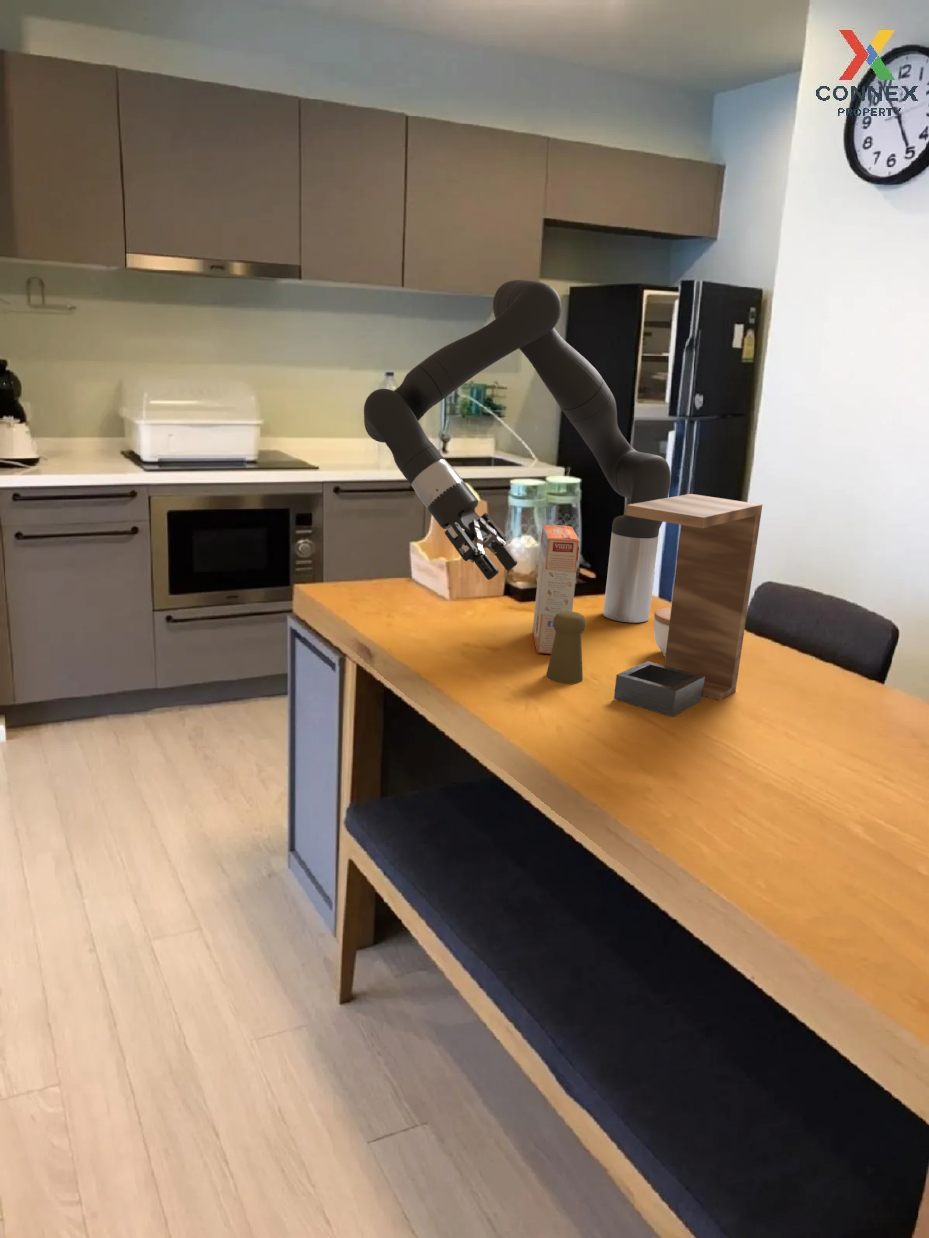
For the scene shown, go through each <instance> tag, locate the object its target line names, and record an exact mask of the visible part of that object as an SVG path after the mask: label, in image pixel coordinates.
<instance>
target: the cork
mask: <svg viewBox="0 0 929 1238" xmlns="http://www.w3.org/2000/svg"><path fill="white" fill-rule="evenodd" d="M586 624H587V623H586V618H585V616H584V615H583V614H582V613H579V612H575V611H573V610H572V611H562V612H559V613H557V614H556V616H555V617H554V620H553V625H554V629H555V631H556V634H555V638H554V642H553V647H552V651H551V654H550V657H549V660H548V664H547V665H548V666H547V670H546V674H545V677H546V678H547V679H548V680H549V681H552V682H554V683H555V682H556V683H559V684H569V685H571V684H578V683H581V682H582V681H583V680H584V678H583V676H584V675H583V654H582V653H583V651H582V649H583V648H582V647H583V646H582V633H584V632H585V629H586Z"/></svg>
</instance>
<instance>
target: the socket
mask: <svg viewBox="0 0 929 1238" xmlns="http://www.w3.org/2000/svg"><path fill="white" fill-rule="evenodd" d="M704 679H705V676H701V675H697V674H694V673H690V672H686V671H682V670H679V669H675V668H671V667H667V666H664V664H659V663H655V662H651V661H648V660H647V661H644V662H643V663H640V664H638V665H636V666H634V667H631V668H629V669H627V670H624V671H622V672H619V673H617V674H616V676H615V687H614V696H613V699H614V700H615V701H619V702H623V703H625V704H629V705H632V706H636V707H639V708H642V709H645V710H649V711H652V712H656V713H659V714H662V715H666V716H669V717H675V716H676V715H678V714H680V713H682V712H684V711H685V710H687V709H689V708H692V707H693V706H695V705H696V704H698V703H699V702H702V701H703V700H702V699H703V695H702V694H703V686H704Z"/></svg>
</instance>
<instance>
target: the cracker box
mask: <svg viewBox="0 0 929 1238" xmlns="http://www.w3.org/2000/svg"><path fill="white" fill-rule="evenodd" d="M540 537H541V539H540V549H539V550H540V551H539V560H538V573H537V581H536V582H537V583H536V590H535V591H536V594H535V603H534V613H533V614H534V615H533V623H532V635H533V640H534V644H535V650H536V654H545V655H551V651H552V647H553V642H554V638H555V634H556V631H555V629H554V625H553V620H554V617H555V616H556V614H557V613H559V612H562V611H572V612H573V607H574V598H575V589H576V577H577V569H578V561H579V560H578V559H579V551H580V542H581V541H580V538H579V537H578V535H577V534H576V532H575V530H574V528H573V526H569V525H560V524H559V525H557V524H556V525H555V524H554V525H553V524H542V527H541V536H540Z"/></svg>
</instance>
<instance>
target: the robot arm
mask: <svg viewBox="0 0 929 1238" xmlns="http://www.w3.org/2000/svg"><path fill="white" fill-rule="evenodd" d="M554 288H555V287H552V286H551V285H549V284H547V283H544V282H541V281H534V280H527V279H515V280H510V281H506V282H504V283H503V284H501V285H500V286H499V287H498V289H497V290H496V292H495V294H494V297H493V300H492V309H493V310H492V311H493V315H494V319H493V320H492V321H490V322H489V323H488V324H487V325H485V326H483V327H481V328H480V329H478V330H476V331H474V332H472V333H470V334H468V335H466V336H464V337H462V338H459V339H457V340H455V341H453V342H450V343H449V344H447V345H444V347H441V348H440V349H438V350H436V351H435V352H434V353H432V354H431V355H428V357H426V358H425V359H424V360H423V361H421V362H420V363H418V364H417V365H416V366H414V367H413V368H411V370H410V371H409V372H408V373H406V374H405V377H404V379H403V380H402V382H401V384H400V385H399V386H398V387H397V388H396V389H395V390H392V389H389V388H379V389H376V390H373V391H372V392H371V393H369V395H368V396H367V397H366V400H365V402H364V406H363V424H364V428H365V431H366V433H367V435H368V436H369V437H370V438H371V439H372V440H374V441H376V442H379V443H385V445H386V446H387V447H388V449H389V450H390V452H391V454H392V457H393V461H394V463H395V466H397V469H399V471H400V472H401V474H402V476H404V478H405V479H406V480H407V482H408V483H409V484H410V486H411V487H412V489H413V490H414V493H415V494H416V495H417V497H418V498H419V500H420V501H421V502H422V504H423V505H424V506H425V508H426V509H427V510H428V512H429V513H430V515H431V517H433V519H434V520H435V521H436V522H437V524H438V525H439V526H440V528H441V529H443V530H445V531H444V535H445V536H446V538H447V540H449V542H450V544H451V545H452V546H453V548H455V550H456V551H457V553H458V554H459V555H460V557H461V559H463V561H464V562H467V561H470V562H471V563H474V564H475V565H476V566H477V568H478V569H479V570H480V572H481V573H482V574H483V576H484V577H485V578H486V579H487V580H492V579H493V578H494V577H496V576H497V575H498V574H499V572H500V571H499V569H498V568H497V566H496V564H494V562H493V561H492V560H491V558H490V557H489V556H488V554H487V553H485V549H486V548H487V549H488V550H489V551H490V552H492V553H494V556H495V557H496V559H497V560H498V561H499V563H501V565H502V566H503V567H504V569H505V570H506V571H510V570H512V569H513V568H515V567H516V566H517V565H518V561H517V559H516V558H515V557H514V556H513V554H512V553H511V551H510V550H509V549H508V547H507V546H506V545H507V543H506V542H507V540H508V538H507V536H506V535H505V533H504V532H503V531H502V530H501V529H500V528H499V526H498V525H497V524H496V522H495V521H494V520H493V519H492V517H491V516H490V515H489V513H487V512H484V513H482V514H481V515H479V514H478V513H477V512H476V508H477V507H478V505H479V500H478V498H477V497H476V495H475V494H474V493H473V492H472V491H471V489H470V488H469V486H468V485H467V484H466V482H464V480H463V479H462V477H461V475H459V473H458V472H457V471H456V469H455V468H454V467H453V466H452V465H451V464H450V463H449V462H448V461H447V460H446V459H445V458H444V456H443V455H442V453H441V452H440V451H439V450H438V448H437V447H436V446H435V445H434V443H433V442H432V440H430V439H429V437H428V436H427V435H426V433H425V431H424V429H423V427H422V426H421V425H422V424H420V422H419V421H420V420H421V418H423V417H424V416H425V415H426V414H427V413H428V411H430V409H432V408H433V407H434V406H436V405H438V403H440V402H441V401H443V400H444V399H446V398H447V397H448V396H449V395H451V394H452V393H453V392H455V391H456V390H457V389H459V388H460V387H461V386H463V385H464V384H465V383H467V382H468V381H469V380H471V379H472V378H473V377H475V376H477V375H478V374H479V373H481V372H482V371H484V370H486V369H487V368H489V367H490V366H492V365H493V364H494V363H496V362H498V361H500V360H501V359H503V358H505V357H507V356H508V355H510V354H512V353H514V352H516V351H517V350H520V352H522V354H523V355H524V356H525V358H527V360H528V361H529V363H530V364H531V365H532V367H533V368H534V370H535V371H536V373H537V375H538V376H539V378H540V379H541V381H542V382H543V384H544V385H545V386H546V388H547V390H548V391H549V392H550V394H551V395H552V397H553V398H554V400H555V401H556V403H557V405H558V406H559V408H560V409H561V410H562V412H563V413H564V415H565V416H566V418H567V419H568V420H569V423H571V425H572V426H573V427H574V429H576V431H577V432H578V434H579V435H580V437H581V438H582V441H584V443H585V444H586V446H588V449H589V450H590V451H591V453H592V454H593V456H594V458H595V459H596V461H597V462H598V466H599V467H600V468H601V470H602V473H603V474H604V477H605V478H606V480H607V481H608V483H609V485H610V487H611V488H612V489H613V491H615V493H617V494H618V495H619V496H621V497H624V498H628V499H630V501H629V502H630V503H629V504H635V503H641V502H646V501H652V500H658V499H664V498H669V492H670V489H671V488H670V486H671V469H670V466H669V463H668V460H666V459H665V458H664V457H662V456H660V455H657V454H653V453H652V454H651V453H648V452H647V453H646V452H641V451H638V450H636V449H635V448H634V447H632V445H631V444H630V443H629V442H628V441H627V439H626V438H625V436H624V435H623V434H622V432H621V430H620V428H619V425H618V411H617V402H616V398H615V396H614V394H613V393H612V390H611V389H610V388H609V386H608V385H607V383H606V382H605V380H604V379H603V377H602V375H601V374H600V372H599V371H598V370H597V369H596V368H595V367H594V365H592V364H591V363H590V362H589V360H588V359H587V358H585V357H584V356H583V355H582V354H580V352H578V350H576V349H575V348H574V347H573V346H572V345H570V344H569V343H568V342H567V341H566V340H565V339H564V338H563V337H562V336H561V335H560V333H559V332H558V331H557V330H556V328H555V327H556V325H557V324H558V322H559V320H560V318H561V314H562V300H561V297H560V296H559V294H558V292H557V290H556V289H554ZM663 523H664V522H662V521H657V520H651V519H645V518H639V517H633V516H627V515H626V513H625V514H622V515H619V516H616V517H614V518H613V521H612V524H611V527H612V528H611V536H610V546H609V556H608V566H607V575H606V576H607V577H606V585H605V593H604V594H605V595H604V603H603V613H602V614H603V617H605V618H606V619H609V620H612V621H616V622H624V623H634V624H635V623H644V622H647V621H649V619H650V616H651V606H652V601H653V600H652V598H653V589H654V582H655V572H656V571H655V568H656V559H657V553H658V552H657V550H658V549H657V548H658V542H659V532H660V529H661V526H662V524H663Z"/></svg>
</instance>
